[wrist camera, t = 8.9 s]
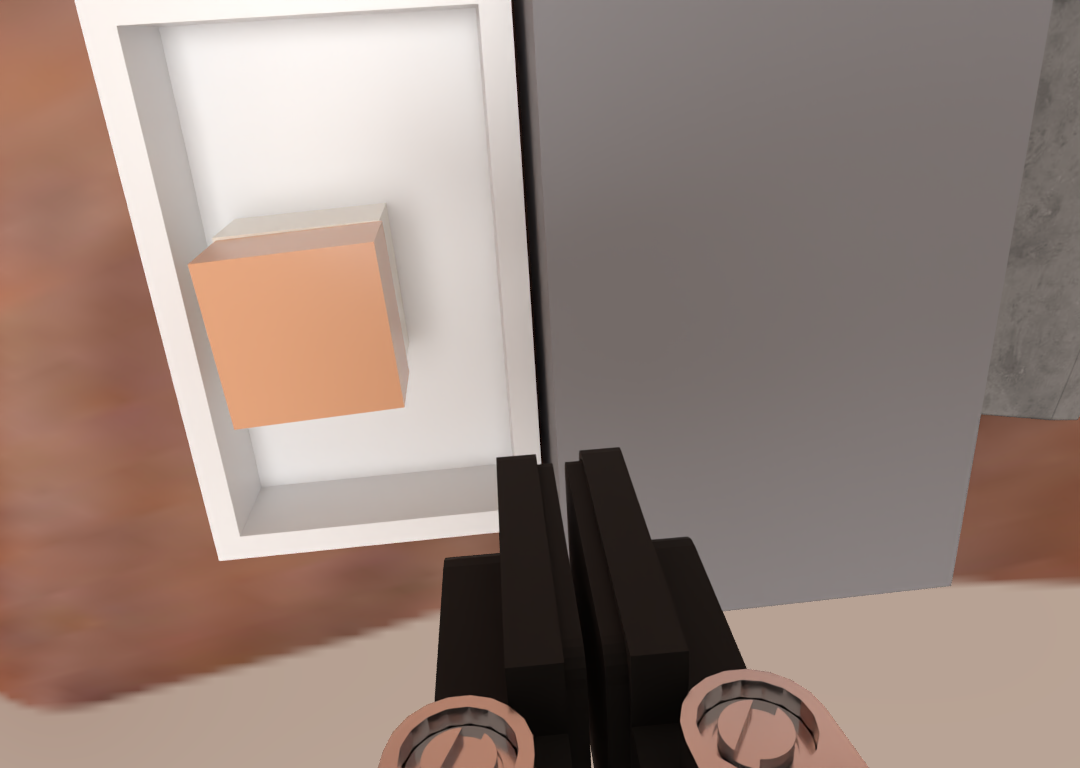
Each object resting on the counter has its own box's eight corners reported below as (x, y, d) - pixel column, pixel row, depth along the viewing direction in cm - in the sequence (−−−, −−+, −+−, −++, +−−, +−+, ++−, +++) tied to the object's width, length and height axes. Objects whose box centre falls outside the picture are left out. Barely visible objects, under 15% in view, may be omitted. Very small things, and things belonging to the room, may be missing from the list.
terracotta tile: (382, 220, 22) (373, 241, 20) (409, 371, 24) (404, 407, 22) (215, 240, 22) (187, 264, 20) (255, 391, 24) (234, 429, 21)
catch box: (501, -26, 23) (508, -35, 20) (535, 473, 29) (545, 527, 26) (127, -4, 22) (71, -10, 19) (245, 501, 29) (219, 560, 25)
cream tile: (211, 238, 22) (234, 219, 24) (250, 390, 24) (268, 358, 26) (379, 219, 22) (386, 202, 24) (405, 371, 24) (409, 342, 26)
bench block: (933, -131, 23) (1085, -183, 17) (862, 487, 31) (951, 585, 25) (506, -108, 22) (523, -156, 17) (546, 519, 30) (567, 628, 24)
